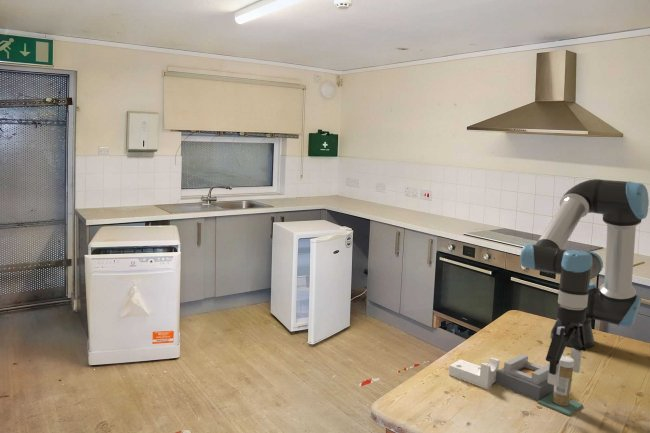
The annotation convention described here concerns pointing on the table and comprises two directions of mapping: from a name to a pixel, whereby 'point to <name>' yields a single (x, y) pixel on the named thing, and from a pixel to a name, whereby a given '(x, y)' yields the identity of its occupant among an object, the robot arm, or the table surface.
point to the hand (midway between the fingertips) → (563, 377)
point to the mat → (565, 410)
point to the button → (527, 372)
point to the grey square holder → (525, 378)
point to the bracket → (475, 372)
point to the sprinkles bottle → (564, 382)
